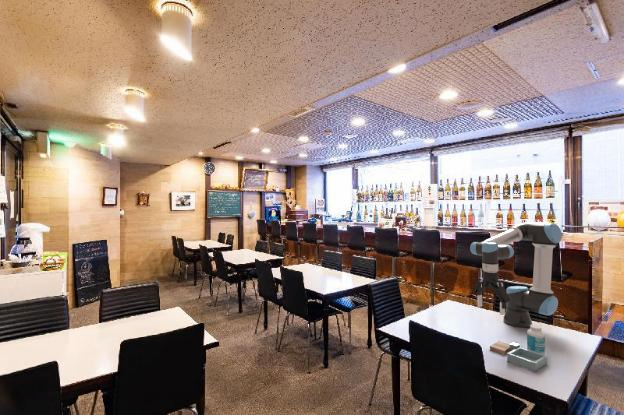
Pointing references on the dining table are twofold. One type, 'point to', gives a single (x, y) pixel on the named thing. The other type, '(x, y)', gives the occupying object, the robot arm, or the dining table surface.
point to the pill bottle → (536, 339)
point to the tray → (527, 359)
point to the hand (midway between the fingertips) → (490, 310)
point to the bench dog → (514, 346)
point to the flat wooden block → (500, 347)
